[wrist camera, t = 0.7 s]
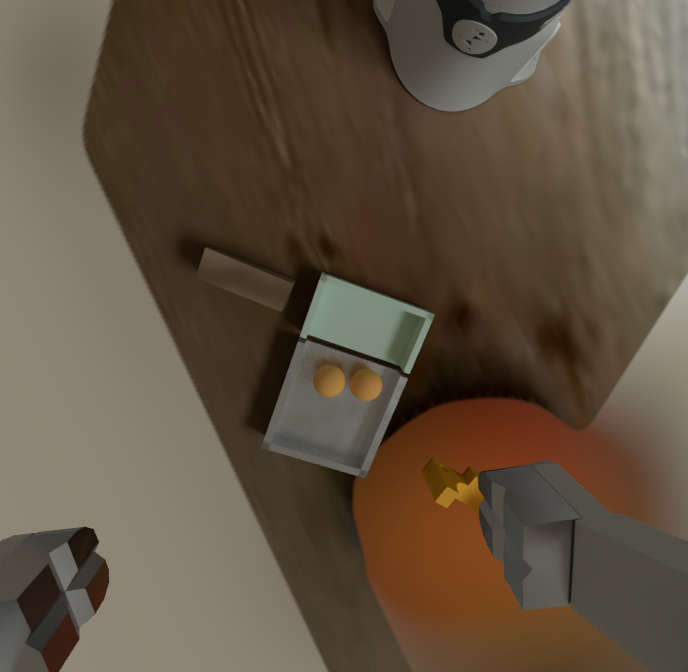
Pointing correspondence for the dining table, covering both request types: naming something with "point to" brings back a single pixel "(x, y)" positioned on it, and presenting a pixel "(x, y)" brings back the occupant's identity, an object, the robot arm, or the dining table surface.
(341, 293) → the tray
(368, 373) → the ball
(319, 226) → the dining table surface
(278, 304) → the taupe rectangular slab
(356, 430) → the grey metal shallow bin
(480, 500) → the pipe clamp
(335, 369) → the ball
